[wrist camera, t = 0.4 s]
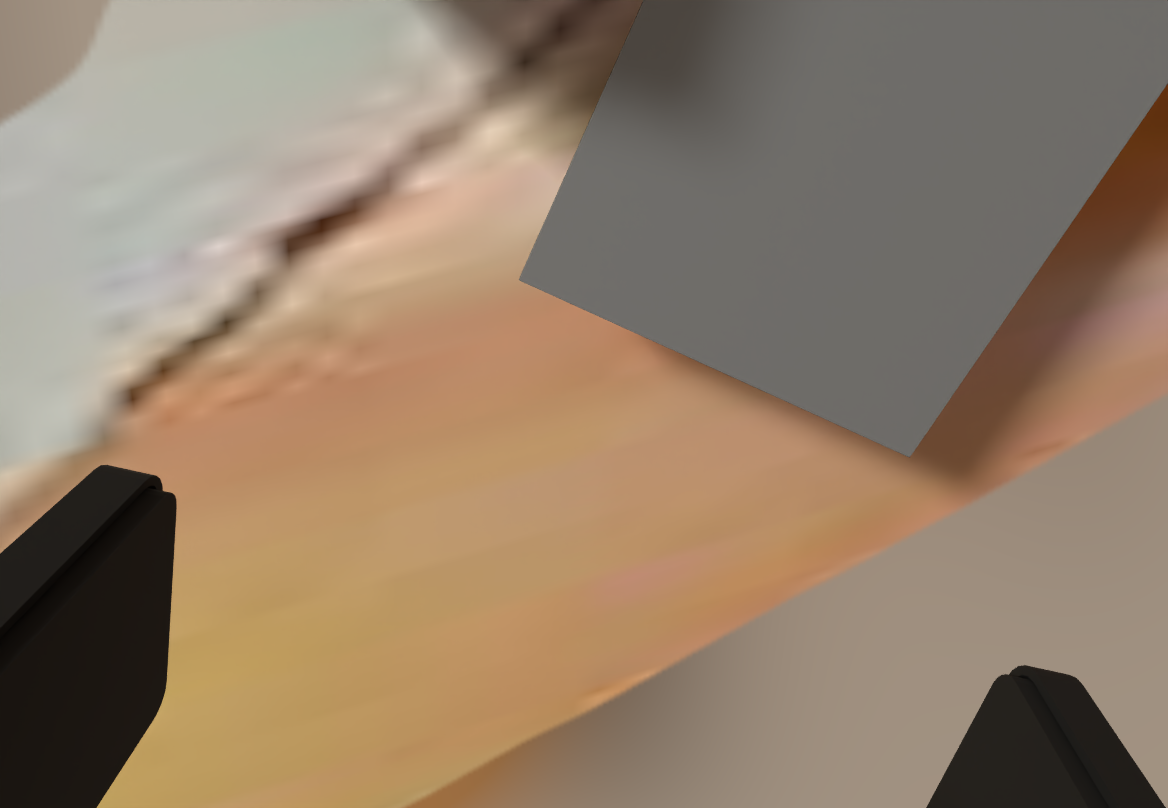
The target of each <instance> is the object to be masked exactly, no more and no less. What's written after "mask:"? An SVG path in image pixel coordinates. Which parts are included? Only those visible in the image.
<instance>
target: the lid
mask: <svg viewBox="0 0 1168 808" xmlns="http://www.w3.org/2000/svg"><path fill="white" fill-rule="evenodd" d="M1167 84H1168V0H643V3H642V5H641V7H640V9H639V12H638V14H637V16H636V18H635V21H634V23H633V25H632V27H631V30H630V32H629V34H628V36H627V38H626V41H625V43H624V45H623V47H622V50H621V52H620V54H619V56H618V59H617V61H616V63H615V65H614V68H613V70H612V72H611V74H610V76H609V79H608V81H607V83H606V85H605V88H604V90H603V92H602V94H601V97H600V99H599V101H598V103H597V106H596V108H595V110H594V112H593V114H592V117H591V119H590V121H589V123H588V126H587V128H586V130H585V132H584V135H583V137H582V139H581V141H580V144H579V146H578V148H577V150H576V152H575V155H574V157H573V159H572V161H571V164H570V166H569V168H568V170H567V173H566V175H565V177H564V179H563V181H562V184H561V186H560V188H559V190H558V193H557V195H556V197H555V199H554V202H553V204H552V206H551V208H550V211H549V213H548V215H547V217H546V219H545V222H544V224H543V226H542V228H541V231H540V233H539V235H538V237H537V240H536V242H535V244H534V246H533V249H532V251H531V253H530V255H529V257H528V260H527V262H526V264H525V266H524V269H523V271H522V273H521V276H520V278H519V280H520V281H522V282H524V283H526V284H528V285H531V286H533V287H535V288H537V289H539V290H542V291H544V292H546V293H548V294H550V295H553V296H555V297H557V298H559V299H562V300H564V301H566V302H568V303H570V304H573V305H575V306H577V307H579V308H581V309H584V310H586V311H588V312H590V313H592V314H595V315H597V316H599V317H601V318H603V319H606V320H608V321H610V322H612V323H614V324H617V325H619V326H621V327H623V328H625V329H628V330H630V331H632V332H634V333H636V334H639V335H641V336H643V337H645V338H647V339H650V340H652V341H654V342H656V343H658V344H661V345H663V346H665V347H667V348H669V349H672V350H674V351H676V352H678V353H680V354H683V355H685V356H687V357H689V358H692V359H694V360H696V361H698V362H700V363H703V364H705V365H707V366H709V367H711V368H714V369H716V370H718V371H720V372H722V373H725V374H727V375H729V376H731V377H733V378H736V379H738V380H740V381H742V382H744V383H747V384H749V385H751V386H753V387H755V388H758V389H760V390H762V391H764V392H766V393H769V394H771V395H773V396H775V397H777V398H780V399H782V400H784V401H786V402H788V403H791V404H793V405H795V406H797V407H799V408H802V409H804V410H806V411H808V412H810V413H813V414H815V415H817V416H819V417H822V418H824V419H826V420H828V421H830V422H833V423H835V424H837V425H839V426H841V427H844V428H846V429H848V430H850V431H852V432H855V433H857V434H859V435H861V436H863V437H866V438H868V439H870V440H872V441H874V442H877V443H879V444H881V445H883V446H885V447H888V448H890V449H892V450H894V451H896V452H899V453H901V454H903V455H905V456H907V457H910V456H911V455H912V453H913V452H914V450H915V449H916V448H917V446H918V445H919V443H920V442H921V440H922V439H923V437H924V436H925V434H926V433H927V432H928V430H929V429H930V427H931V426H932V424H933V423H934V421H935V420H936V419H937V417H938V416H939V414H940V413H941V411H942V410H943V408H944V407H945V405H946V404H947V403H948V401H949V400H950V398H951V397H952V395H953V394H954V392H955V391H956V390H957V388H958V387H959V385H960V384H961V382H962V381H963V379H964V378H965V376H966V375H967V374H968V372H969V371H970V369H971V368H972V366H973V365H974V363H975V362H976V361H977V359H978V358H979V356H980V355H981V353H982V352H983V350H984V349H985V347H986V346H987V345H988V343H989V342H990V340H991V339H992V337H993V336H994V334H995V333H996V332H997V330H998V329H999V327H1000V326H1001V324H1002V323H1003V321H1004V320H1005V318H1006V317H1007V316H1008V314H1009V313H1010V311H1011V310H1012V308H1013V307H1014V305H1015V304H1016V303H1017V301H1018V300H1019V298H1020V297H1021V295H1022V294H1023V292H1024V291H1025V290H1026V288H1027V287H1028V285H1029V284H1030V282H1031V281H1032V279H1033V278H1034V276H1035V275H1036V274H1037V272H1038V271H1039V269H1040V268H1041V266H1042V265H1043V263H1044V262H1045V261H1046V259H1047V258H1048V256H1049V255H1050V253H1051V252H1052V250H1053V249H1054V247H1055V246H1056V245H1057V243H1058V242H1059V240H1060V239H1061V237H1062V236H1063V234H1064V233H1065V232H1066V230H1067V229H1068V227H1069V226H1070V224H1071V223H1072V221H1073V220H1074V218H1075V217H1076V216H1077V214H1078V213H1079V211H1080V210H1081V208H1082V207H1083V205H1084V204H1085V203H1086V201H1087V200H1088V198H1089V197H1090V195H1091V194H1092V192H1093V191H1094V189H1095V188H1096V187H1097V185H1098V184H1099V182H1100V181H1101V179H1102V178H1103V176H1104V175H1105V174H1106V172H1107V171H1108V169H1109V168H1110V166H1111V165H1112V163H1113V162H1114V160H1115V159H1116V158H1117V156H1118V155H1119V153H1120V152H1121V150H1122V149H1123V147H1124V146H1125V145H1126V143H1127V142H1128V140H1129V139H1130V137H1131V136H1132V134H1133V133H1134V131H1135V130H1136V129H1137V127H1138V126H1139V124H1140V123H1141V121H1142V120H1143V118H1144V117H1145V116H1146V114H1147V113H1148V111H1149V110H1150V108H1151V107H1152V105H1153V104H1154V102H1155V101H1156V100H1157V98H1158V97H1159V95H1160V94H1161V92H1162V91H1163V89H1164V88H1165V87H1166V85H1167Z"/></svg>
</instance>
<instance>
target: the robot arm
mask: <svg viewBox="0 0 1168 808" xmlns="http://www.w3.org/2000/svg"><path fill="white" fill-rule="evenodd" d="M175 525H176V498H175V495H174V494H173V493H169V492H165V491H163V488H162V483H161V480H160V478H158V477H157V476H155V475H150V474H146V473H141V472H137V471H132V470H128V469H123V468H118V467H114V466H109V465H101V466H99V467H98V468H96V469H95V470H93V471H92V472H91V473H90V474H89V475H88V476H87V477H86V478H85V479H83V480H82V481H81V482H80V483H79V484H78V485H77V486H76V487H74V488H73V489H72V490H71V491H70V492H69V493H68V494H67V495H65V496H64V497H63V498H62V499H61V500H60V501H59V502H58V503H57V504H55V505H54V506H53V507H52V508H51V509H50V510H49V511H48V512H46V513H45V514H44V515H43V516H42V517H41V518H40V519H39V520H37V521H36V522H35V523H34V524H33V525H32V526H31V527H30V528H28V529H27V530H26V531H25V532H24V533H23V534H22V535H21V536H20V537H18V538H17V539H16V540H15V541H14V542H13V543H12V544H11V545H9V546H8V547H7V548H6V549H5V550H4V551H3V552H2V553H0V808H97V806H98V804H99V803H100V801H101V800H102V798H103V797H104V795H105V794H106V792H107V791H108V789H109V788H110V786H111V784H112V783H113V781H114V780H115V778H116V777H117V775H118V774H119V772H120V771H121V769H122V768H123V766H124V764H125V763H126V761H127V760H128V758H129V757H130V755H131V754H132V752H133V751H134V749H135V747H136V746H137V744H138V743H139V741H140V740H141V738H142V737H143V735H144V734H145V732H146V731H147V729H148V727H149V726H150V724H151V723H152V721H153V720H154V718H155V716H156V714H157V712H158V710H159V708H160V706H161V703H162V700H163V697H164V693H165V689H166V682H167V666H168V648H169V631H170V613H171V595H172V578H173V560H174V543H175ZM926 808H1166V807H1165V806H1164V805H1163V803H1162V802H1161V800H1160V799H1159V797H1158V796H1157V794H1156V793H1155V791H1154V790H1153V788H1152V787H1151V785H1150V784H1149V782H1148V781H1147V779H1146V778H1145V776H1144V775H1143V773H1142V772H1141V770H1140V769H1139V768H1138V766H1137V765H1136V763H1135V762H1134V760H1133V759H1132V757H1131V756H1130V754H1129V753H1128V751H1127V750H1126V748H1125V747H1124V746H1123V744H1122V742H1121V741H1120V739H1119V738H1118V736H1117V735H1116V733H1115V732H1114V730H1113V729H1112V727H1111V726H1110V725H1109V723H1108V722H1107V720H1106V719H1105V717H1104V716H1103V714H1102V713H1101V711H1100V710H1099V708H1098V707H1097V705H1096V704H1095V702H1094V701H1093V700H1092V698H1091V696H1090V695H1089V693H1088V692H1087V690H1086V689H1085V688H1084V686H1083V685H1082V683H1081V682H1080V681H1079V680H1078V679H1077V678H1075V677H1073V676H1071V675H1067V674H1063V673H1058V672H1054V671H1049V670H1044V669H1039V668H1035V667H1030V666H1026V665H1024V666H1018V667H1017V668H1015V669H1014V670H1012V671H1011V673H1010V674H1009V675H1006V674H1005V675H1001V676H1000V677H998V678H997V679H996V680H995V681H994V683H993V685H992V686H991V688H990V690H989V692H988V694H987V696H986V698H985V699H984V701H983V703H982V705H981V707H980V709H979V711H978V712H977V714H976V716H975V718H974V720H973V722H972V724H971V725H970V727H969V729H968V731H967V733H966V735H965V737H964V738H963V740H962V742H961V744H960V746H959V748H958V750H957V752H956V753H955V755H954V757H953V759H952V761H951V763H950V765H949V767H948V768H947V770H946V772H945V774H944V776H943V778H942V780H941V781H940V783H939V785H938V787H937V789H936V791H935V793H934V794H933V796H932V798H931V800H930V802H929V804H928V806H927V807H926Z"/></svg>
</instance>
